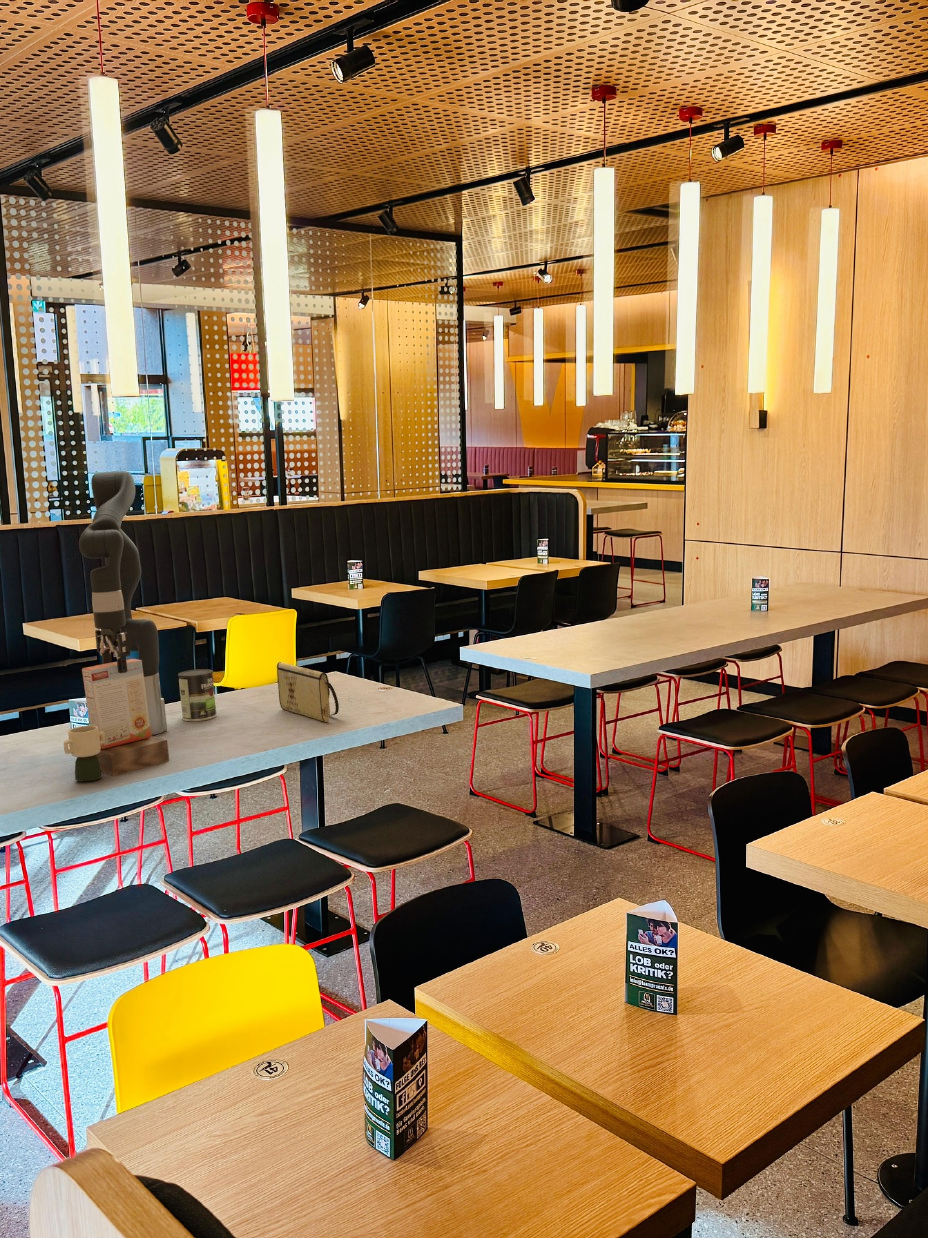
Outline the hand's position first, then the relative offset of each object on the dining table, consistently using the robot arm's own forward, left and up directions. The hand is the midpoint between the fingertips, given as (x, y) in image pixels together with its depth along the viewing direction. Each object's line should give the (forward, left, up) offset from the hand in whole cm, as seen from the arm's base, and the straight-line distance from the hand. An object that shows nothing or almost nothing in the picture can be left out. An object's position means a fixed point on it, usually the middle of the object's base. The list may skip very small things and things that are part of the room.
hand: (115, 671), depth 266 cm
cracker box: (0, 0, -19) cm, 19 cm away
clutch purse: (-61, -3, -25) cm, 65 cm away
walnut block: (0, 0, -25) cm, 25 cm away
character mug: (+13, +7, -25) cm, 29 cm away
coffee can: (-38, -29, -25) cm, 54 cm away
